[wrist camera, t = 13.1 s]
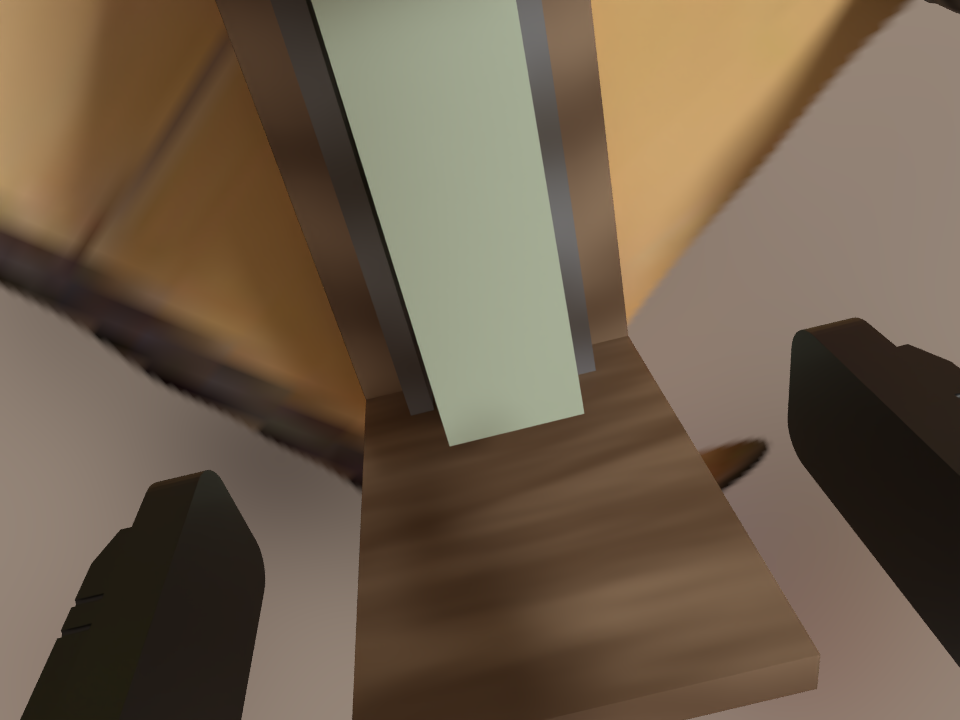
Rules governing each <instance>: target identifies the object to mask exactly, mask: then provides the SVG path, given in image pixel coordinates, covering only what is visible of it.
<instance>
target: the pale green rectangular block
mask: <svg viewBox="0 0 960 720" xmlns="http://www.w3.org/2000/svg"><path fill="white" fill-rule="evenodd" d="M311 1H312V5H313V8H314V11H315V14H316V17H317V21H318V24H319V27H320V30H321V34H322V37H323V40H324V43H325V46H326V50H327V53H328V56H329V59H330V63H331V66H332V69H333V72H334V75H335V79H336V82H337V85H338V88H339V92H340V95H341V98H342V101H343V104H344V108H345V111H346V114H347V117H348V120H349V124H350V127H351V130H352V133H353V137H354V140H355V143H356V146H357V149H358V153H359V156H360V159H361V162H362V166H363V169H364V172H365V175H366V178H367V182H368V185H369V188H370V191H371V195H372V198H373V201H374V204H375V207H376V211H377V214H378V217H379V220H380V224H381V227H382V230H383V233H384V236H385V240H386V243H387V246H388V249H389V252H390V256H391V259H392V262H393V265H394V269H395V272H396V275H397V278H398V281H399V285H400V288H401V291H402V294H403V298H404V301H405V304H406V307H407V310H408V314H409V317H410V320H411V323H412V327H413V330H414V333H415V336H416V339H417V343H418V346H419V349H420V352H421V356H422V359H423V362H424V365H425V368H426V372H427V375H428V378H429V381H430V385H431V388H432V391H433V394H434V397H435V401H436V404H437V407H438V410H439V413H440V417H441V420H442V423H443V426H444V430H445V433H446V436H447V439H448V442H449V446H454V445H458V444H462V443H466V442H470V441H474V440H478V439H483V438H487V437H491V436H495V435H499V434H503V433H507V432H511V431H515V430H519V429H523V428H528V427H532V426H536V425H540V424H544V423H548V422H552V421H556V420H560V419H564V418H569V417H573V416H577V415H581V414H584V408H583V402H582V396H581V390H580V384H579V378H578V372H577V366H576V360H575V354H574V348H573V342H572V336H571V330H570V324H569V318H568V311H567V305H566V299H565V293H564V287H563V281H562V275H561V269H560V263H559V257H558V251H557V245H556V239H555V233H554V227H553V221H552V215H551V209H550V203H549V197H548V191H547V185H546V179H545V173H544V166H543V160H542V154H541V148H540V142H539V136H538V130H537V124H536V118H535V112H534V106H533V100H532V94H531V88H530V82H529V76H528V70H527V64H526V58H525V52H524V46H523V40H522V34H521V28H520V21H519V15H518V9H517V3H516V0H311Z"/></svg>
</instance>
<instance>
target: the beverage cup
mask: <svg viewBox="0 0 960 720" xmlns="http://www.w3.org/2000/svg"><path fill="white" fill-rule="evenodd" d="M925 1H927V2H929V3H936V4H939V5H941V6H943V7H945V8H947V9H949V10H951V11H953V12H956V13H959V14H960V0H925Z"/></svg>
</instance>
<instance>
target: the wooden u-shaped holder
mask: <svg viewBox="0 0 960 720" xmlns="http://www.w3.org/2000/svg"><path fill="white" fill-rule="evenodd" d="M215 1H216V3H217V6H218V9H219V11H220V14H221V17H222V19H223V22H224V24H225V27H226V30H227V32H228V35H229V38H230V40H231V43H232V46H233V48H234V51H235V54H236V56H237V59H238V62H239V64H240V67H241V70H242V72H243V75H244V77H245V80H246V83H247V85H248V88H249V91H250V93H251V96H252V99H253V101H254V104H255V107H256V109H257V112H258V115H259V117H260V120H261V123H262V125H263V128H264V130H265V133H266V136H267V138H268V141H269V144H270V146H271V149H272V152H273V154H274V157H275V160H276V162H277V165H278V168H279V170H280V173H281V176H282V178H283V181H284V183H285V186H286V189H287V191H288V194H289V197H290V199H291V202H292V205H293V207H294V210H295V213H296V215H297V218H298V221H299V223H300V226H301V229H302V231H303V234H304V236H305V239H306V242H307V244H308V247H309V250H310V252H311V255H312V258H313V260H314V263H315V266H316V268H317V271H318V274H319V276H320V279H321V282H322V284H323V287H324V289H325V292H326V295H327V297H328V300H329V303H330V305H331V308H332V311H333V313H334V316H335V319H336V321H337V324H338V327H339V329H340V332H341V335H342V337H343V340H344V342H345V345H346V348H347V350H348V353H349V356H350V358H351V361H352V364H353V366H354V369H355V372H356V374H357V377H358V380H359V382H360V385H361V388H362V390H363V393H364V395H365V398H366V415H365V438H364V461H363V484H362V508H361V530H360V554H359V577H358V599H357V623H356V645H355V668H354V670H355V671H354V692H353V715H352V720H686V719H690V718H695V717H699V716H703V715H708V714H712V713H716V712H720V711H725V710H729V709H733V708H737V707H742V706H746V705H750V704H754V703H758V702H763V701H767V700H771V699H775V698H780V697H784V696H788V695H792V694H797V693H801V692H805V691H809V690H814V689H817V684H818V673H819V663H820V653H819V652H818V650H817V648H816V647H815V645H814V643H813V642H812V640H811V639H810V637H809V635H808V634H807V632H806V630H805V628H804V627H803V625H802V624H801V622H800V620H799V619H798V617H797V615H796V613H795V612H794V610H793V609H792V607H791V605H790V604H789V602H788V600H787V599H786V597H785V595H784V594H783V592H782V590H781V589H780V587H779V585H778V584H777V582H776V580H775V579H774V577H773V575H772V574H771V572H770V570H769V569H768V567H767V565H766V564H765V562H764V560H763V559H762V557H761V555H760V554H759V552H758V551H757V549H756V547H755V545H754V544H753V542H752V540H751V539H750V537H749V536H748V534H747V532H746V531H745V529H744V527H743V526H742V524H741V522H740V521H739V519H738V517H737V516H736V514H735V512H734V511H733V509H732V507H731V506H730V504H729V502H728V501H727V499H726V498H725V496H724V494H723V492H722V491H721V489H720V487H719V486H718V484H717V482H716V481H715V479H714V477H713V476H712V474H711V472H710V471H709V469H708V467H707V466H706V464H705V462H704V461H703V459H702V458H701V456H700V454H699V453H698V451H697V449H696V448H695V446H694V444H693V443H692V441H691V439H690V438H689V436H688V434H687V433H686V431H685V429H684V428H683V426H682V424H681V423H680V421H679V420H678V418H677V416H676V414H675V413H674V411H673V409H672V408H671V406H670V404H669V403H668V401H667V400H666V398H665V396H664V395H663V393H662V391H661V390H660V388H659V386H658V385H657V383H656V381H655V380H654V378H653V376H652V375H651V373H650V371H649V370H648V368H647V366H646V365H645V363H644V361H643V360H642V358H641V356H640V355H639V353H638V351H637V350H636V348H635V346H634V345H633V343H632V341H631V340H630V338H629V337H628V330H627V321H626V312H625V304H624V295H623V286H622V277H621V268H620V259H619V250H618V241H617V232H616V223H615V214H614V205H613V196H612V187H611V178H610V169H609V160H608V151H607V142H606V134H605V125H604V116H603V107H602V98H601V89H600V80H599V71H598V62H597V53H596V44H595V35H594V26H593V17H592V8H591V0H516V3H517V9H518V15H519V21H520V28H521V34H522V40H523V46H524V52H525V58H526V64H527V70H528V76H529V82H530V88H531V94H532V100H533V106H534V112H535V118H536V124H537V130H538V136H539V142H540V148H541V154H542V160H543V166H544V173H545V179H546V185H547V191H548V197H549V203H550V209H551V215H552V221H553V227H554V233H555V239H556V245H557V251H558V257H559V263H560V269H561V275H562V281H563V287H564V293H565V299H566V305H567V311H568V318H569V324H570V330H571V336H572V342H573V348H574V354H575V360H576V366H577V372H578V378H579V384H580V390H581V396H582V402H583V408H584V414H581V415H577V416H573V417H569V418H564V419H560V420H556V421H552V422H548V423H544V424H540V425H536V426H532V427H528V428H523V429H519V430H515V431H511V432H507V433H503V434H499V435H495V436H491V437H487V438H483V439H478V440H474V441H470V442H466V443H462V444H458V445H454V446H449V442H448V439H447V436H446V433H445V430H444V426H443V423H442V420H441V417H440V413H439V410H438V407H437V404H436V401H435V397H434V394H433V391H432V388H431V385H430V381H429V378H428V375H427V372H426V368H425V365H424V362H423V359H422V356H421V352H420V349H419V346H418V343H417V339H416V336H415V333H414V330H413V327H412V323H411V320H410V317H409V314H408V310H407V307H406V304H405V301H404V298H403V294H402V291H401V288H400V285H399V281H398V278H397V275H396V272H395V269H394V265H393V262H392V259H391V256H390V252H389V249H388V246H387V243H386V240H385V236H384V233H383V230H382V227H381V224H380V220H379V217H378V214H377V211H376V207H375V204H374V201H373V198H372V195H371V191H370V188H369V185H368V182H367V178H366V175H365V172H364V169H363V166H362V162H361V159H360V156H359V153H358V149H357V146H356V143H355V140H354V137H353V133H352V130H351V127H350V124H349V120H348V117H347V114H346V111H345V108H344V104H343V101H342V98H341V95H340V92H339V88H338V85H337V82H336V79H335V75H334V72H333V69H332V66H331V63H330V59H329V56H328V53H327V50H326V46H325V43H324V40H323V37H322V34H321V30H320V27H319V24H318V21H317V17H316V14H315V11H314V8H313V5H312V1H311V0H215Z"/></svg>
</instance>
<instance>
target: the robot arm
mask: <svg viewBox="0 0 960 720" xmlns="http://www.w3.org/2000/svg"><path fill="white" fill-rule="evenodd" d="M789 386H790V387H789V403H788V428H789V434H790V438H791V441H792V444H793V447H794V449H795V451H796V454H797V456H798V457H799V459H800V461H801V463H802V464H803V465H804V467H805V468H806V469H807V471H808V472H809V473H810V474H811V476H812V477H813V478H814V480H815V481H816V482H817V483H818V484H819V486H820V487H821V489H822V490H823V491H824V493H825V494H826V495H827V496H828V498H829V499H830V500H831V502H832V503H833V504H834V505H835V507H836V508H837V509H838V511H839V512H840V513H841V514H842V516H843V517H844V518H845V520H846V521H847V522H848V523H849V525H850V526H851V527H852V529H853V530H854V531H855V533H856V534H857V535H858V537H859V538H860V539H861V540H862V542H863V543H864V544H865V545H866V547H867V548H868V549H869V551H870V552H871V553H872V555H873V556H874V557H875V558H876V560H877V561H878V562H879V563H880V565H881V566H882V568H883V569H884V570H885V571H886V573H887V574H888V575H889V577H890V578H891V579H892V580H893V582H894V583H895V584H896V586H897V587H898V588H899V589H900V591H901V592H902V593H903V595H904V596H905V597H906V598H907V600H908V601H909V602H910V604H911V605H912V606H913V608H914V609H915V610H916V611H917V613H918V614H919V615H920V616H921V618H922V619H923V621H924V622H925V623H926V624H927V626H928V627H929V628H930V630H931V631H932V632H933V633H934V635H935V636H936V637H937V639H938V640H939V641H940V642H941V644H942V645H943V646H944V648H945V649H946V650H947V652H948V653H949V654H950V655H951V657H952V658H953V659H954V661H955V662H956V663H957V664H958V666H959V667H960V368H959V367H957V366H956V365H955V364H953V363H952V362H950V361H948V360H946V359H943V358H941V357H938V356H936V355H933V354H931V353H928V352H926V351H923V350H921V349H919V348H916V347H914V346H911V345H909V344H907V345H903V346H899V347H896V346H895V345H894V344H893V343H892V342H890V341H889V340H888V339H887V338H885V337H884V336H883V335H882V334H881V333H879V332H878V331H877V330H876V329H875V328H873V327H872V326H871V325H870V324H868V323H867V322H866V321H864V320H863V319H860V318H850V319H846V320H842V321H838V322H833V323H829V324H825V325H821V326H817V327H812V328H809V329H804V330H800V331H798V332H797V333H796V334H795V336H794V338H793V341H792V349H791V367H790V385H789ZM264 588H265V570H264V563H263V558H262V554H261V551H260V548H259V546H258V544H257V542H256V540H255V538H254V536H253V535H252V533H251V531H250V529H249V528H248V526H247V524H246V522H245V520H244V519H243V517H242V515H241V513H240V512H239V510H238V508H237V506H236V505H235V503H234V501H233V499H232V498H231V496H230V494H229V492H228V490H227V489H226V487H225V485H224V483H223V482H222V480H221V478H220V477H219V476H218V475H217V474H216V473H215V472H213V471H211V470H206V471H202V472H198V473H194V474H189V475H186V476H181V477H177V478H173V479H168V480H164V481H160V482H156V483H154V484H152V485H151V486H150V487H149V489H148V490H147V492H146V494H145V497H144V499H143V502H142V504H141V506H140V509H139V511H138V513H137V516H136V518H135V521H134V523H133V526H132V527H130V528H126V529H121V530H120V531H119V532H118V533H117V534H116V536H115V537H114V538H113V539H112V540H111V541H110V543H109V544H108V545H107V546H106V547H105V548H104V550H103V551H102V552H101V553H100V554H99V556H98V557H97V558H96V559H95V560H94V561H93V563H92V564H91V566H90V568H89V570H88V573H87V575H86V577H85V579H84V581H83V583H82V586H81V588H80V590H79V592H78V594H77V596H76V599H75V601H76V606H75V607H72V608H71V610H70V612H69V614H68V616H67V619H66V621H65V623H64V625H63V627H62V630H61V632H62V637H61V638H58V639H57V641H56V643H55V645H54V647H53V649H52V651H51V653H50V656H49V658H48V660H47V662H46V664H45V667H44V669H43V671H42V673H41V675H40V678H39V680H38V682H37V684H36V687H35V688H34V691H33V693H32V695H31V697H30V699H29V702H28V704H27V706H26V708H25V710H24V713H23V715H22V717H21V719H20V720H241V717H242V712H243V706H244V701H245V695H246V689H247V684H248V678H249V672H250V667H251V661H252V656H253V650H254V645H255V639H256V633H257V628H258V622H259V617H260V611H261V606H262V600H263V594H264Z"/></svg>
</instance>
